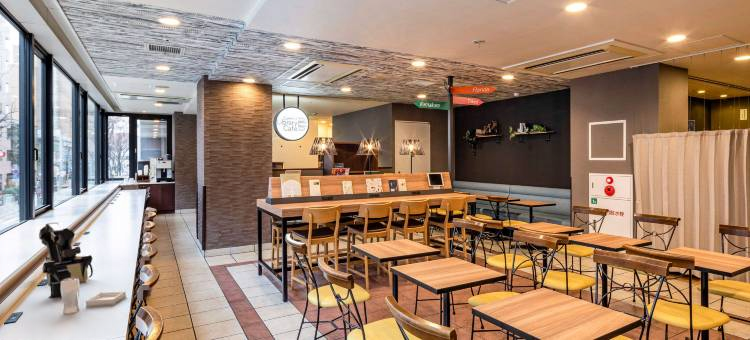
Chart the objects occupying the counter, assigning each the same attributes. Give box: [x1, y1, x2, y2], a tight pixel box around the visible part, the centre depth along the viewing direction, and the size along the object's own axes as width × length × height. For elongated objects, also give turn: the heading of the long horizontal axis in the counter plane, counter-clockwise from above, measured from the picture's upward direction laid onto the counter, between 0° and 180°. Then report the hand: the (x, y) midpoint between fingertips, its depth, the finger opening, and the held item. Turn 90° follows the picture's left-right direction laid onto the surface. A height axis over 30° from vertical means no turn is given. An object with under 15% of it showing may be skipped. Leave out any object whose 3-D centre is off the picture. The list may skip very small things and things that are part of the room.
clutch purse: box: [45, 254, 94, 283], centre depth 237 cm, size 30×7×15 cm, turn 79°
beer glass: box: [61, 277, 81, 315], centre depth 185 cm, size 7×7×15 cm
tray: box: [85, 290, 127, 308], centre depth 198 cm, size 12×12×3 cm
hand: (71, 278), depth 192 cm, fingers open, 9 cm apart
